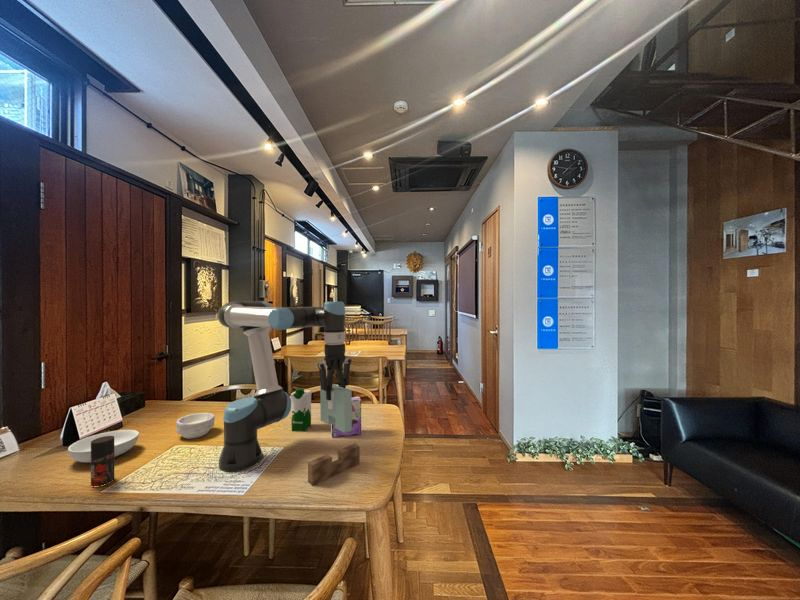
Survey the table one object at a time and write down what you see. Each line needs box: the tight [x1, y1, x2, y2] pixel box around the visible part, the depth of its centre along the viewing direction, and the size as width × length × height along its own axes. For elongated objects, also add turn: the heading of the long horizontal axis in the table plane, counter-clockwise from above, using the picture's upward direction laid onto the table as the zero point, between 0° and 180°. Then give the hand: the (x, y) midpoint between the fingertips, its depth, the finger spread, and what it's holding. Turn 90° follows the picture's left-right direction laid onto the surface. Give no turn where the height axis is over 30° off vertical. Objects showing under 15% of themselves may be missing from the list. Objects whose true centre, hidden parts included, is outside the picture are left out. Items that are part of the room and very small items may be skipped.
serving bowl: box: [67, 429, 140, 463], centre depth 126 cm, size 21×21×7 cm
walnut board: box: [307, 443, 361, 486], centre depth 113 cm, size 20×3×7 cm, turn 134°
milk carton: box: [290, 387, 312, 432], centre depth 153 cm, size 9×9×20 cm
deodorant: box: [90, 436, 115, 488], centre depth 108 cm, size 6×6×15 cm
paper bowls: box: [175, 412, 215, 440], centre depth 146 cm, size 15×15×8 cm
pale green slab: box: [319, 383, 353, 433], centre depth 113 cm, size 3×16×14 cm, turn 44°
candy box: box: [330, 396, 362, 438], centre depth 146 cm, size 14×6×16 cm, turn 105°
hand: (335, 407), depth 113 cm, fingers closed on pale green slab, 3 cm apart
